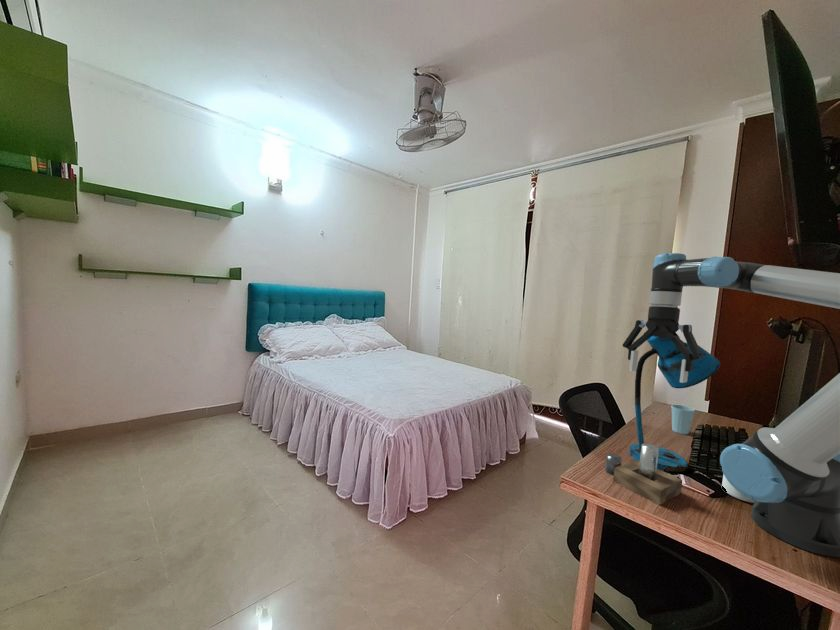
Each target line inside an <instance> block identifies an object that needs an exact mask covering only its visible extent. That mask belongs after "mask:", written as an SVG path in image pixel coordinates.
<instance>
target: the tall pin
mask: <svg viewBox="0 0 840 630" xmlns="http://www.w3.org/2000/svg"><path fill="white" fill-rule="evenodd" d="M656 446H657V445H654V444H651V443H645V442H644V443H643V444H642V446H641V455H640V464H639V474H640V475H642V476H644V477H646V478H648V479H650V480H652V481H655V479H656V470H657V461H658V452H659V448H658V447H659V446H657V447H656Z"/></svg>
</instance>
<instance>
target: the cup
mask: <svg viewBox="0 0 840 630" xmlns="http://www.w3.org/2000/svg"><path fill="white" fill-rule="evenodd" d="M670 406H671V431H673V432H675V433H677V434H680V435H689V433H690V429H691V426H692V423H693V419H694V414H695V411H696V410H695V409H694V408H691V407H689V406H686V405H682V404H681V405H680V404H671V405H670Z"/></svg>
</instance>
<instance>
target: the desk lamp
mask: <svg viewBox="0 0 840 630" xmlns="http://www.w3.org/2000/svg"><path fill="white" fill-rule="evenodd" d="M681 341H682V342H683V343H684V344H685V346H686V347H687V348H688V349H689V351H690V352H691V350H690V348H689V346H688V343H687V342H684V341H683V340H682V339H681ZM646 342H648V344H649V346H650V347H651V349H650V350H648V351H646V352H644V353H643V354H642V356H641V357H639V360H638V361H637V369H636V371H635V379H634V408H635V409H634V410H635V413H634V414H635V424H636V433H637V441H638V443H633V444H631V445H630V446H629V448H628V449H629V451H628V453H629V456H631V458H632V459H634V460H639V461H640V455H641V446H642V444H643V443H645V440H644V430H643V429H644V428H643V422H642V419H643V418H642V408H641V407H642V406H641V400H642V399H641V396H642V394H641V392H642V391H641V390H642V385H641V383H642V376H643V369H644V365H645V362H646V361H647V360H648V359H649V358H650V357H652V356H653V355H657V356H658V359H657V368H658V369H659V370H660V372H661V373H662V375H663V377H664V379H666V381H667V383H668V384H669V386H670V387H671V388H674V389H686V388H691V387H693V386H694V387H695V386H696V385H698V384H700V383H701V384H702V382H705V381H706V380H709V378H710V377H712V376H713V375H714V374H715V373H716V372H717V371H718V370H719V368H720V367H721V362H720V360H719V359H718V358H717V357H715V356H714V355H713V354H711V353H710V352H708V350H705V349H704V348H703V347H702V346H700V345H698V344H697V345H698V347H699V349H700V351H701V353H702V356H703V358H702V359H696V360H694V362H693V370H692V371H691V372H688V378H687V382H685V383H681V382H680V374H681V365H682V360H683V359H686V358H685V357H684V356H683V355H682V353H681V352H680V351H679V349H678V348H677V347H676V345H675V344H674V343H673V342H672V340H670V339H669V338H662V337H654V336H652V337H650V338H649V339H648V340H646ZM691 353H692V352H691ZM655 446H656V447H658V448H659V452H658V461H657V469H659V470H661V471H664V469H665V468H668V467H677V466H679V467H687V468H688V462H687V460H686V459H685V458H684V457H683V456H681V455H680V454H678V453H676V452H674V451H672V450H669V449H667V448H665V447H664V448H663V447H660V446H657V445H655Z"/></svg>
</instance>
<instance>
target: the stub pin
mask: <svg viewBox="0 0 840 630" xmlns="http://www.w3.org/2000/svg"><path fill="white" fill-rule="evenodd" d="M620 465H622V456H620V455H619V454H615V453H609V452H608V453H606V460H605V469H604V471H605V473H607V474H608V475H611V476H614V468H615V467H618V466H620Z"/></svg>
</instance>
